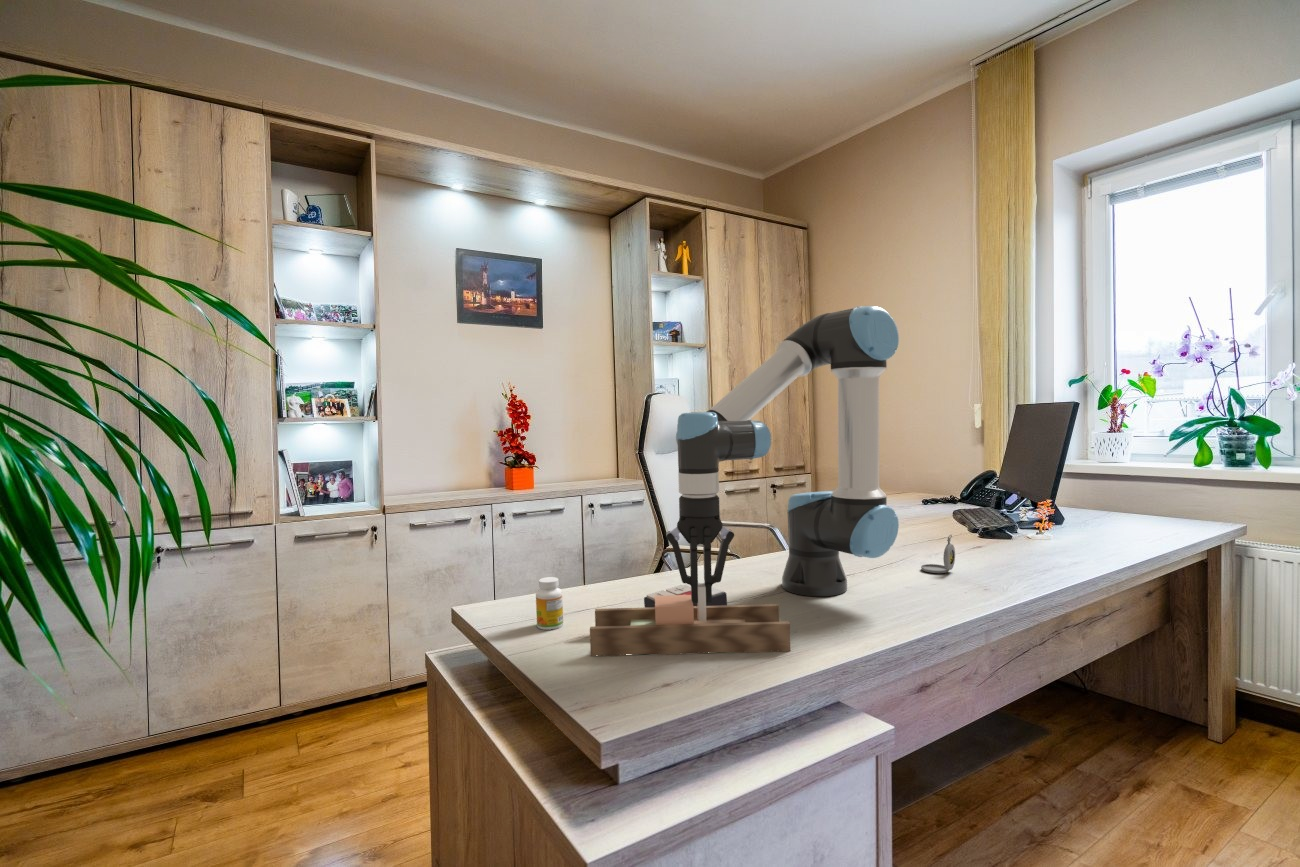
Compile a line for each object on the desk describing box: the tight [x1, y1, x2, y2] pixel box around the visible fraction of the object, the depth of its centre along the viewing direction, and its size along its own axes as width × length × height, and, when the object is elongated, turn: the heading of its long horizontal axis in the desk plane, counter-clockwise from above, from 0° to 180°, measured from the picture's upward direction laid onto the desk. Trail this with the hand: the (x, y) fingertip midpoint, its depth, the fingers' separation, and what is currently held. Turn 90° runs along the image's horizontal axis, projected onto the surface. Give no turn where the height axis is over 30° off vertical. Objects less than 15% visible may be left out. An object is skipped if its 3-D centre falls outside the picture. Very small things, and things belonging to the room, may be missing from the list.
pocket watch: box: [920, 534, 956, 574], centre depth 165 cm, size 8×8×10 cm
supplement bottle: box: [535, 576, 564, 631], centre depth 132 cm, size 5×5×10 cm
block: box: [655, 595, 694, 625], centre depth 121 cm, size 7×7×5 cm
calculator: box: [643, 581, 728, 608], centre depth 142 cm, size 11×4×15 cm
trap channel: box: [589, 603, 791, 657], centre depth 121 cm, size 36×11×5 cm, turn 90°
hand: (702, 619), depth 121 cm, fingers closed
